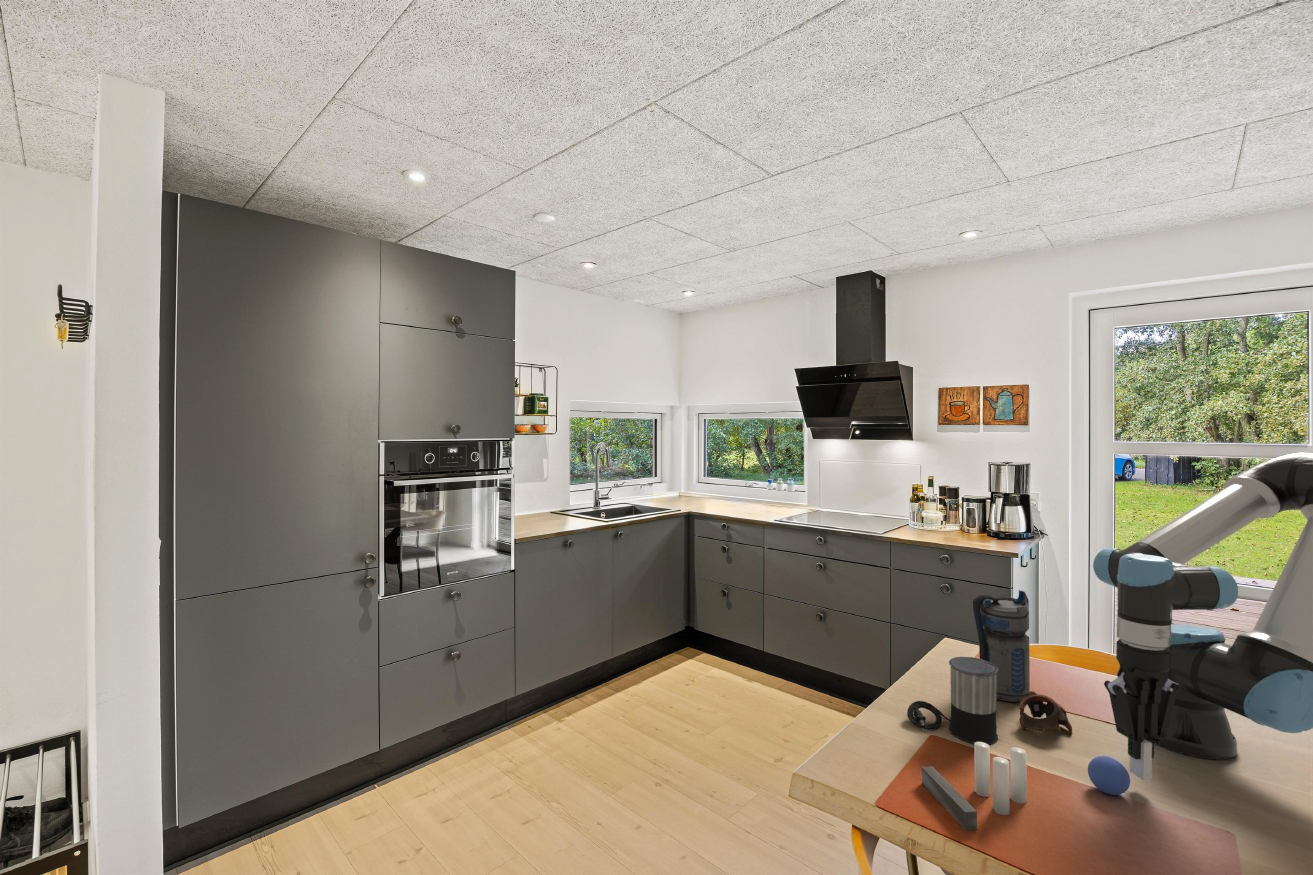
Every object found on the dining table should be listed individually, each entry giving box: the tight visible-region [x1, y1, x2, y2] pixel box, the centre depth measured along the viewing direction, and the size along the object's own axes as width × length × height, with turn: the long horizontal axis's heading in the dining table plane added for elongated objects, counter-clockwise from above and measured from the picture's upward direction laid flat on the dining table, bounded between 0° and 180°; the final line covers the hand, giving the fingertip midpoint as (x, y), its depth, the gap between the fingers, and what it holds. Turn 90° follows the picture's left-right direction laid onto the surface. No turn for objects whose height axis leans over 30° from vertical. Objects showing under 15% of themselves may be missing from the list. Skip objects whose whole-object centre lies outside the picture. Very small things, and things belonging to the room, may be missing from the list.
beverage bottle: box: [972, 590, 1031, 703], centre depth 144 cm, size 10×13×25 cm
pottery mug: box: [1018, 690, 1073, 735], centre depth 129 cm, size 12×10×8 cm
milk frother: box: [906, 656, 999, 745], centre depth 128 cm, size 14×16×15 cm
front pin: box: [1009, 746, 1028, 805], centre depth 104 cm, size 2×2×8 cm
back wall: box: [921, 765, 978, 832], centre depth 103 cm, size 2×13×3 cm, turn 5°
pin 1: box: [973, 742, 991, 798], centre depth 106 cm, size 2×2×8 cm
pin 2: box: [992, 756, 1011, 816], centre depth 101 cm, size 2×2×8 cm
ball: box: [1087, 755, 1131, 796], centre depth 106 cm, size 6×6×6 cm
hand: (1140, 775), depth 106 cm, fingers closed
